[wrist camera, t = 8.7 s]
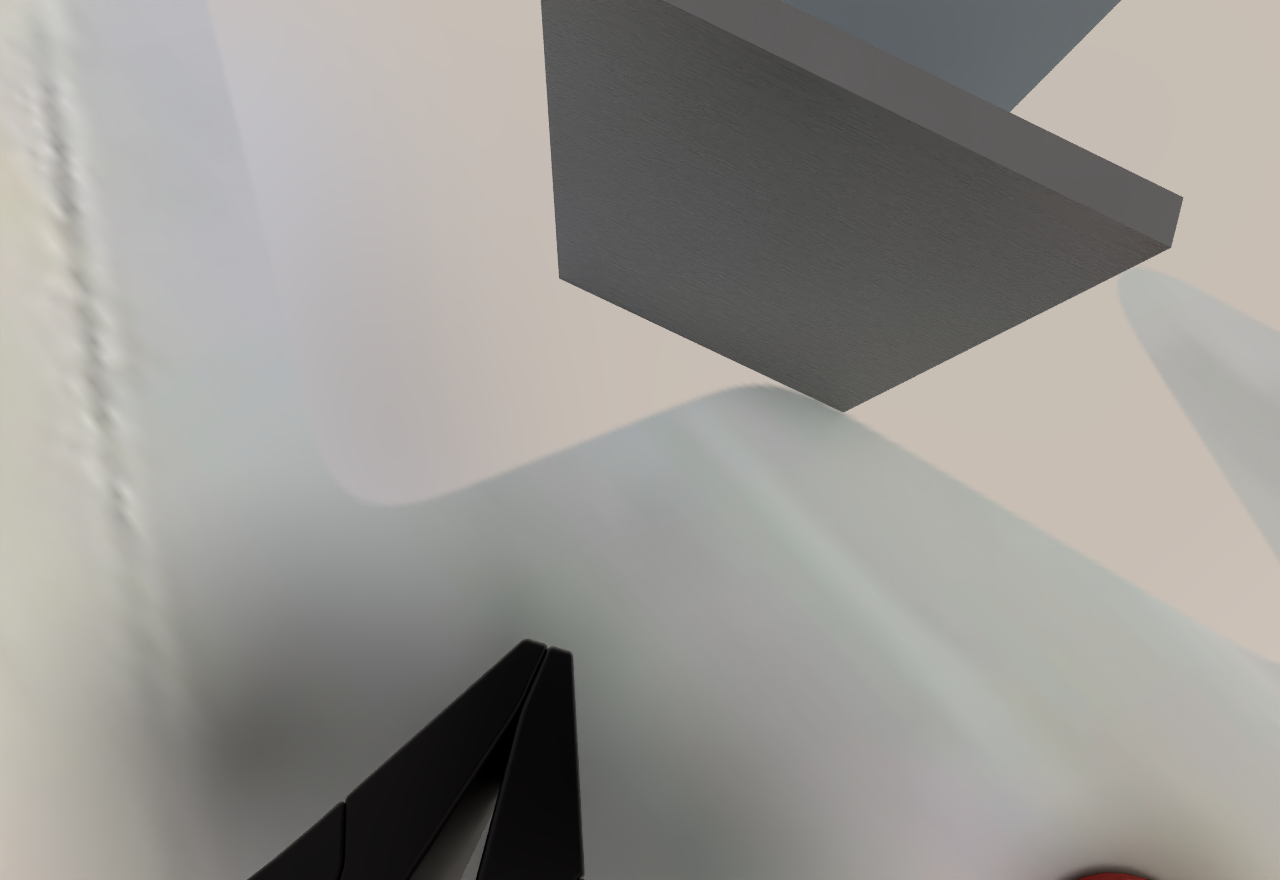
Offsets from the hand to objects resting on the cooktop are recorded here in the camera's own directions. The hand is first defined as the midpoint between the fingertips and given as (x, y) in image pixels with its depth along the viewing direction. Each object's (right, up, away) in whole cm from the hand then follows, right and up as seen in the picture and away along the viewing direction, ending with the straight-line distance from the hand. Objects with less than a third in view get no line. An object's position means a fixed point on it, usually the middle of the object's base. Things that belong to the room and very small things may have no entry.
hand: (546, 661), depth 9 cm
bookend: (+6, +11, +11) cm, 17 cm away
